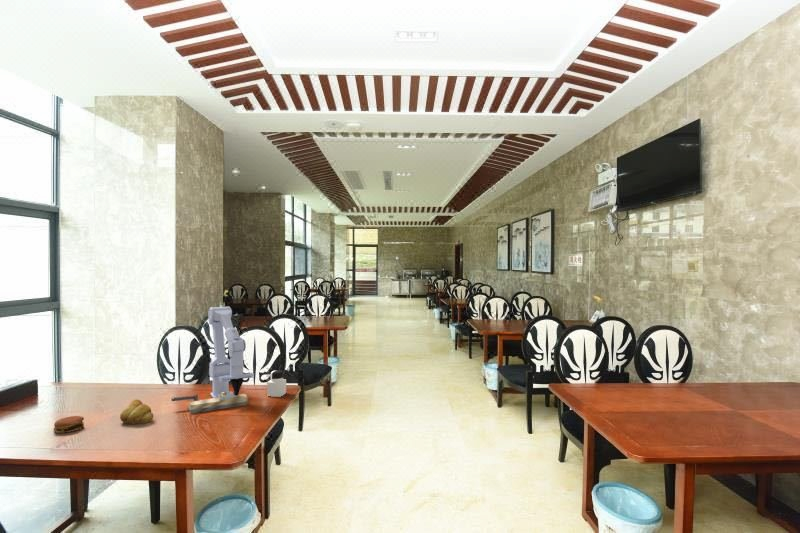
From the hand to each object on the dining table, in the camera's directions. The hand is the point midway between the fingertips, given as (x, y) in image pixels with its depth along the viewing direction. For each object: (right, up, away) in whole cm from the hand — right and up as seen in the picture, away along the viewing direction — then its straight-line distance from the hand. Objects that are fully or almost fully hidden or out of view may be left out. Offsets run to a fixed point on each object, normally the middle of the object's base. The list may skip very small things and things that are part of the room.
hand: (236, 394), depth 196 cm
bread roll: (-32, -4, -23) cm, 40 cm away
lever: (-21, -4, -7) cm, 22 cm away
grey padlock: (+14, -5, +15) cm, 21 cm away
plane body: (-6, -4, -4) cm, 9 cm away
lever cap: (-4, -1, -2) cm, 5 cm away
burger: (-53, -4, -32) cm, 62 cm away
